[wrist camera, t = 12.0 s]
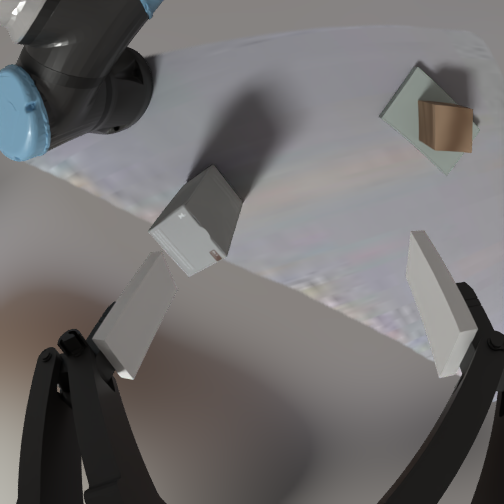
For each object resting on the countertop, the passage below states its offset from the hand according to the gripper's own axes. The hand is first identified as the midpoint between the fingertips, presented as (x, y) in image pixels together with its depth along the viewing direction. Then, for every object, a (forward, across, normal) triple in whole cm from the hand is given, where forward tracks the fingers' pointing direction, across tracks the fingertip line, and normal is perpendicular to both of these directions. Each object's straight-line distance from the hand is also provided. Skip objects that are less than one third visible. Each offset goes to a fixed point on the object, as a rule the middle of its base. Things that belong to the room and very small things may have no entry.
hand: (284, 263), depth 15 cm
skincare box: (+31, -14, -7) cm, 34 cm away
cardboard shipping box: (+29, +21, +2) cm, 36 cm away
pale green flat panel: (+31, +21, +2) cm, 37 cm away
